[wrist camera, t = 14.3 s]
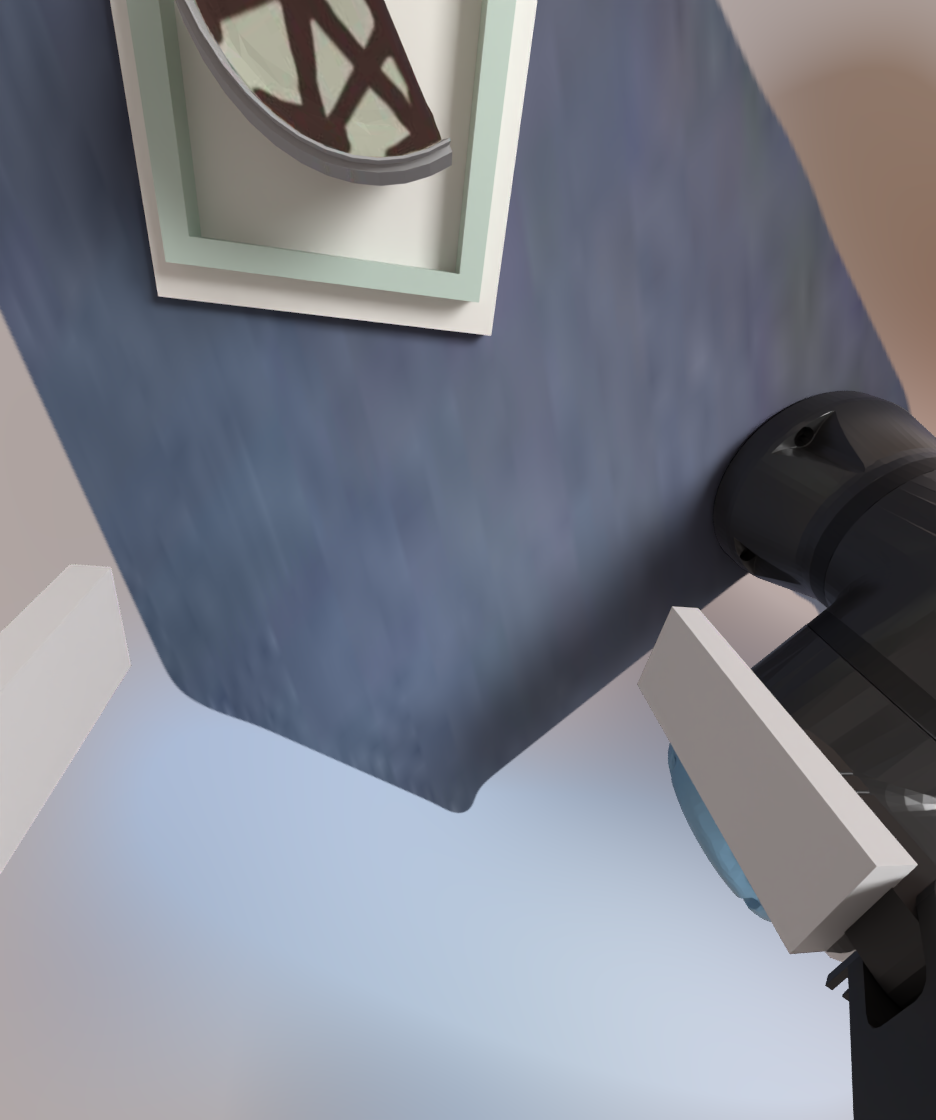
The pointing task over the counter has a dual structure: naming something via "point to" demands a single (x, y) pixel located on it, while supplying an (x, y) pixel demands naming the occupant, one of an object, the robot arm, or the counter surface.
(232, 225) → the pocket plate
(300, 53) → the food container
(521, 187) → the counter surface
